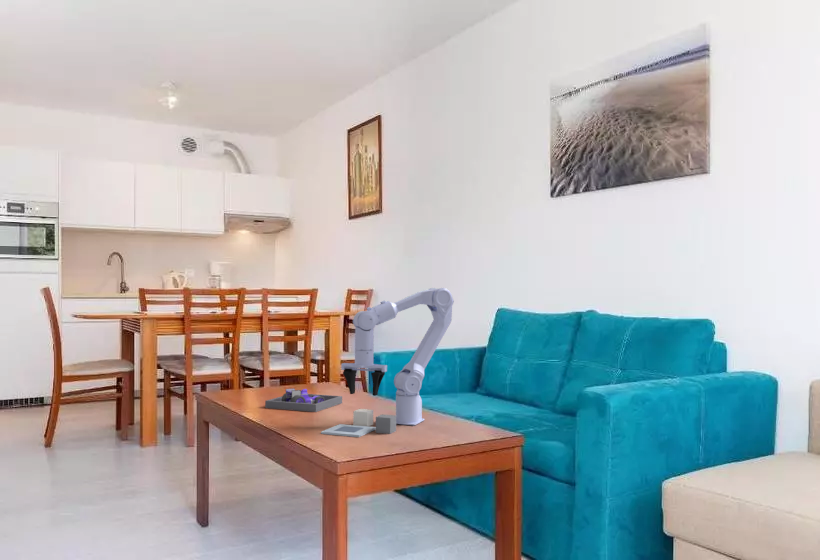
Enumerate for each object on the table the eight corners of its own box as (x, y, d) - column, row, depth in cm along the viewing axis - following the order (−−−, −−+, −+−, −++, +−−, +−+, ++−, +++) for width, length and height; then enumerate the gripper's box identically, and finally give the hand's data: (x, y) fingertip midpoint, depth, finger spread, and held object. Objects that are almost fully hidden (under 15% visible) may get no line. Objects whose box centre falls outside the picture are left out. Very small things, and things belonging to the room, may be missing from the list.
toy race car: (331, 406, 236) (331, 388, 237) (293, 410, 227) (293, 391, 227) (317, 402, 244) (318, 385, 244) (281, 406, 235) (281, 388, 235)
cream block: (359, 423, 204) (359, 408, 204) (373, 424, 202) (373, 409, 203) (353, 426, 200) (353, 411, 200) (367, 427, 198) (367, 412, 198)
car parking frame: (294, 399, 248) (294, 392, 248) (342, 403, 241) (342, 396, 241) (265, 407, 230) (265, 400, 230) (315, 412, 223) (316, 404, 223)
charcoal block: (381, 429, 195) (381, 414, 195) (396, 431, 193) (396, 415, 193) (375, 432, 191) (375, 417, 191) (390, 434, 189) (390, 418, 189)
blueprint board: (339, 426, 199) (339, 423, 199) (376, 429, 195) (376, 426, 195) (321, 433, 188) (321, 431, 188) (359, 437, 184) (359, 434, 184)
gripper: (337, 350, 200) (336, 394, 200) (380, 352, 195) (380, 397, 195) (347, 348, 207) (346, 391, 207) (389, 350, 202) (389, 394, 202)
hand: (363, 394), depth 201 cm, fingers open, 7 cm apart
